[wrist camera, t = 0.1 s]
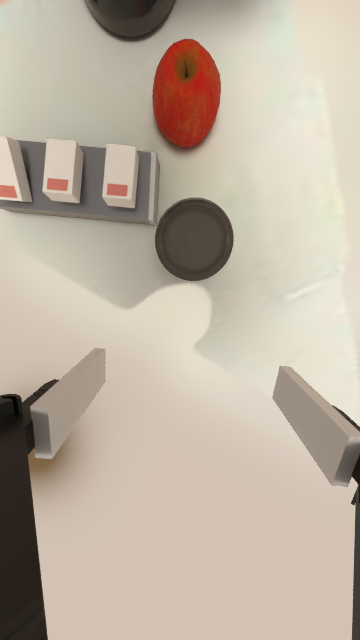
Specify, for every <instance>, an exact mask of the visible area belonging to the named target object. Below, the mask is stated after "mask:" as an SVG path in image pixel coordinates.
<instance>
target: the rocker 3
mask: <svg viewBox="0 0 360 640" xmlns="http://www.w3.org/2000/svg"><path fill="white" fill-rule="evenodd" d="M138 167H139V156H138V152H137V148H136V146H128V145H117V144H107V147H106V159H105V170H104V182H103V194H102V197H103V199H104V201H105V202H106V204H107V205H108V206H116V207H127V208H135V201H136V190H137V178H138Z"/></svg>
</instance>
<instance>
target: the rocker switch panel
mask: <svg viewBox="0 0 360 640" xmlns="http://www.w3.org/2000/svg"><path fill="white" fill-rule="evenodd" d="M16 141H19V140H16ZM19 145H20V149H21V153H22V158H23V162H24V166H25V171H26V175H27V180H28V184H29V188H30V193H31V197H32V201H33V202H24V201H12V200H1V199H0V208H1V209H4V210H7V211H10V212H19V213H30V214H41V215H52V216H63V217H74V218H85V219H97V220H108V221H119V222H130V223H141V224H152V225H157V209H158V190H159V172H160V164H159V159H158V155H157V153H156V152H152V151H151V152H140V151H137V152H138V156H139V167H138V178H137V190H136V201H135V208H127V207H116V206H108V205H107V204H106V202H105V201H104V199H103V197H102V194H103V182H104V170H105V159H106V148H96V147H85V146H80V148H81V150H82V152H83V153H84V156H83V168H82V180H81V191H80V203H72V202H61V201H52V200H51V199H50V198H49V197H48V196H47V195H46V194H45V193H43V192H42V191H43V179H44V167H45V155H46V143H41V142H30V141H19Z"/></svg>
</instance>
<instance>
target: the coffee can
mask: <svg viewBox="0 0 360 640" xmlns="http://www.w3.org/2000/svg"><path fill="white" fill-rule="evenodd" d="M155 245H156V251H157V254H158V257H159V259H160V261H161V263H162V264H163V266H164V267H165V268H166V269H167V270H168V271H169V272H170V273H172V274H173V275H175V276H176V277H178V278H181V279H184V280H189V281H198V280H203V279H206V278H209V277H211V276H213V275H214V274H216V273H217V272H218V271H219V270H220V269H221V268H222V267H223V266H224V265H225V264H226V262H227V260H228V258H229V256H230V254H231V251H232V247H233V230H232V226H231V223H230V220H229V218H228V217H227V215H226V214H225V212H224V211H223V210H222V209H221V208H220V207H219V206H218V205H217V204H215V203H213V202H211V201H209V200H207V199H203V198H187V199H184V200H181V201H178V202H177V203H175V204H173V205H172V206H171V207H170V208H168V209H167V210H166V212H165V213H164V214H163V216H162V217H161V219H160V221H159V223H158V226H157V229H156V235H155Z"/></svg>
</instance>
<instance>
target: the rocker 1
mask: <svg viewBox="0 0 360 640" xmlns="http://www.w3.org/2000/svg"><path fill="white" fill-rule="evenodd" d="M0 199H1V200H12V201H24V202H33V201H32V197H31V193H30V188H29V184H28V180H27V175H26V171H25V166H24V162H23V158H22V153H21V149H20V145H19V141H16V140H14V139H11V138H9V137H5V136H0Z"/></svg>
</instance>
